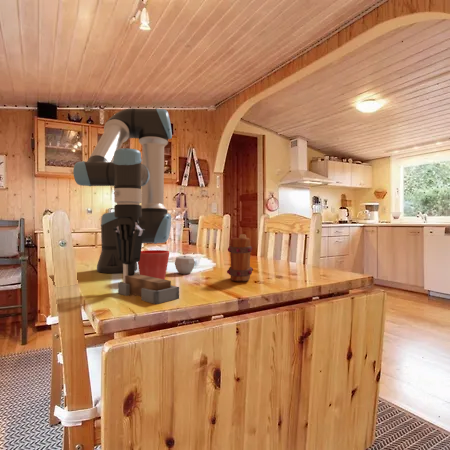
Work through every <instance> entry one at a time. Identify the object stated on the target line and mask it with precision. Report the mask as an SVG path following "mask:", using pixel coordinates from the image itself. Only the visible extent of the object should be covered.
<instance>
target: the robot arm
mask: <svg viewBox="0 0 450 450" xmlns="http://www.w3.org/2000/svg"><path fill="white" fill-rule="evenodd" d="M169 114H170V113H169V112H168V110H167V109H164V108H157V107H155V108H134V107H133V108H131V107H130V108H125V109H122V110H119V111H118V112H116V113H115V114H114V113H113V115H112V116H110V117H109V118H108V120H106V122H105V124H104V126H103V133H102V135H101V136H100V138H99V140H98V141H97V144H96V145H95V147H94V149H93V150H92V152H91V154H90V156H89V158H88V159H87V160H86V161H85V160H82V161H77V162H76V163H75V164H74V166H73V169H72V172H73V178H74V182H75V183H76V184H77V185H78V186H85V187H86V186H87V187H114V192H113V194H114V203H116V204H114V206H113V207H114V209H113V211H111V212H106V213H103V214H102V216H101V218H100V219H101V220H100V222H101V223H100V229H101V231H100V233H101V234H100V236H101V237H100V238H101V239H100V240H101V251H100V256H99V258H98V261H97V265H96V272H98V273H104V274H122V276H123V277H122V279H123V283H125V276H128V275H134V274H136V273H135V272H136V271H137V270H138V262H139V261H140V255H141V251H142V246H143V244H153V245H155V244H164V243H166V242H168V240H169V237H170V234H171V233H170V232H171V227H172V215H171V213H168V208H166V206H165V205H164V202H165V199H164V198H165V197H164V196H165V195H164V193H165V147H166V146H167V145H169V140H171V139H172V137H173V133H172V131H173V130H172V125H171V119H170V115H169ZM128 139H138V143H139V144H140V145H141V147H142V151H140V150H138V149H136V148H126V147H125V148H122V146H123V144H124V143H125V142H127V141H128ZM141 152H142V153H141Z"/></svg>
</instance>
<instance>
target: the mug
mask: <svg viewBox="0 0 450 450" xmlns="http://www.w3.org/2000/svg"><path fill="white" fill-rule="evenodd" d="M252 250H253V246H251V238H250V237H247V235H246V234H243V233H241V234H239V237H231V238H230V246H229V247H228V248H227V251H228V252H229V253H230V267H229V268H228V269H227V270H226V274H228V275H229V276H230V280H231V281H233V282H239V283H241V282H242V283H243V282H247V281H250V278H251V275H252V274H253V271H254V268H253V267H252V266H251V253H252Z"/></svg>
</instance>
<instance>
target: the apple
mask: <svg viewBox="0 0 450 450" xmlns="http://www.w3.org/2000/svg"><path fill="white" fill-rule="evenodd" d="M195 263H196V262H195V258H194V257H193V256H190V255H179V256H176V258H175V261H174V265H175V266H174V267H175V269H176V271H177V273H179V274H183V275H187V274H191V273H192V272H193V269H194V267H195Z"/></svg>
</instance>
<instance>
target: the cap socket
mask: <svg viewBox="0 0 450 450" xmlns="http://www.w3.org/2000/svg"><path fill="white" fill-rule="evenodd" d="M140 298H141V301H144V302H146V303H150V304H154V305H159V304H162V303H163V304H164V303H166V302H171V301H174V300H178V299H180V286H175V285H172V284H171V288H167V289H163V290H158V291H155V290H151V289H147V288H142V289H141V297H140Z"/></svg>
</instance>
